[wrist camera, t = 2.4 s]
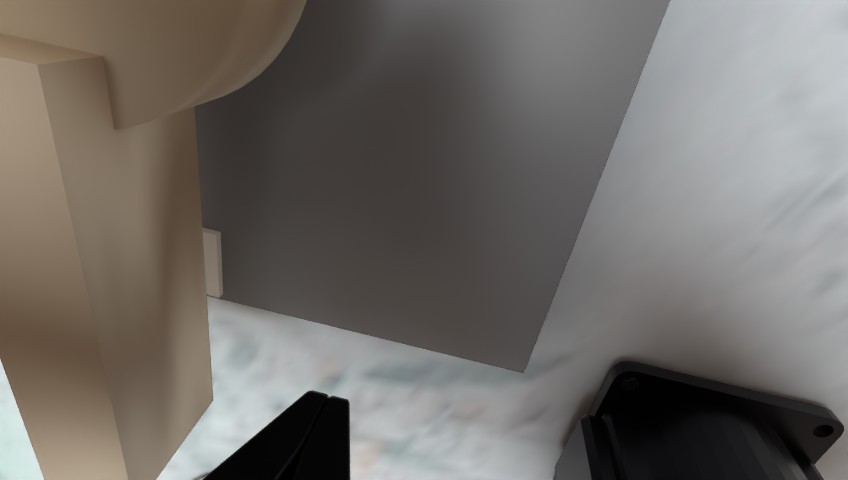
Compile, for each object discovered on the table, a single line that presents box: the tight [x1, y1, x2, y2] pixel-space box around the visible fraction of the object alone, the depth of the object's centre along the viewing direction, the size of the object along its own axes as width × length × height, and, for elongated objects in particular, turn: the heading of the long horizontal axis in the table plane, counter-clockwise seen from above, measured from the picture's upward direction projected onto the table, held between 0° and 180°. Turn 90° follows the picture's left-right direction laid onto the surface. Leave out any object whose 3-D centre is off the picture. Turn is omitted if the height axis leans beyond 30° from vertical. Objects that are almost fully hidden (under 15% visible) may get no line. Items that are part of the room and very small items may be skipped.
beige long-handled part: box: [0, 0, 307, 480], centre depth 8 cm, size 14×6×3 cm, turn 170°
